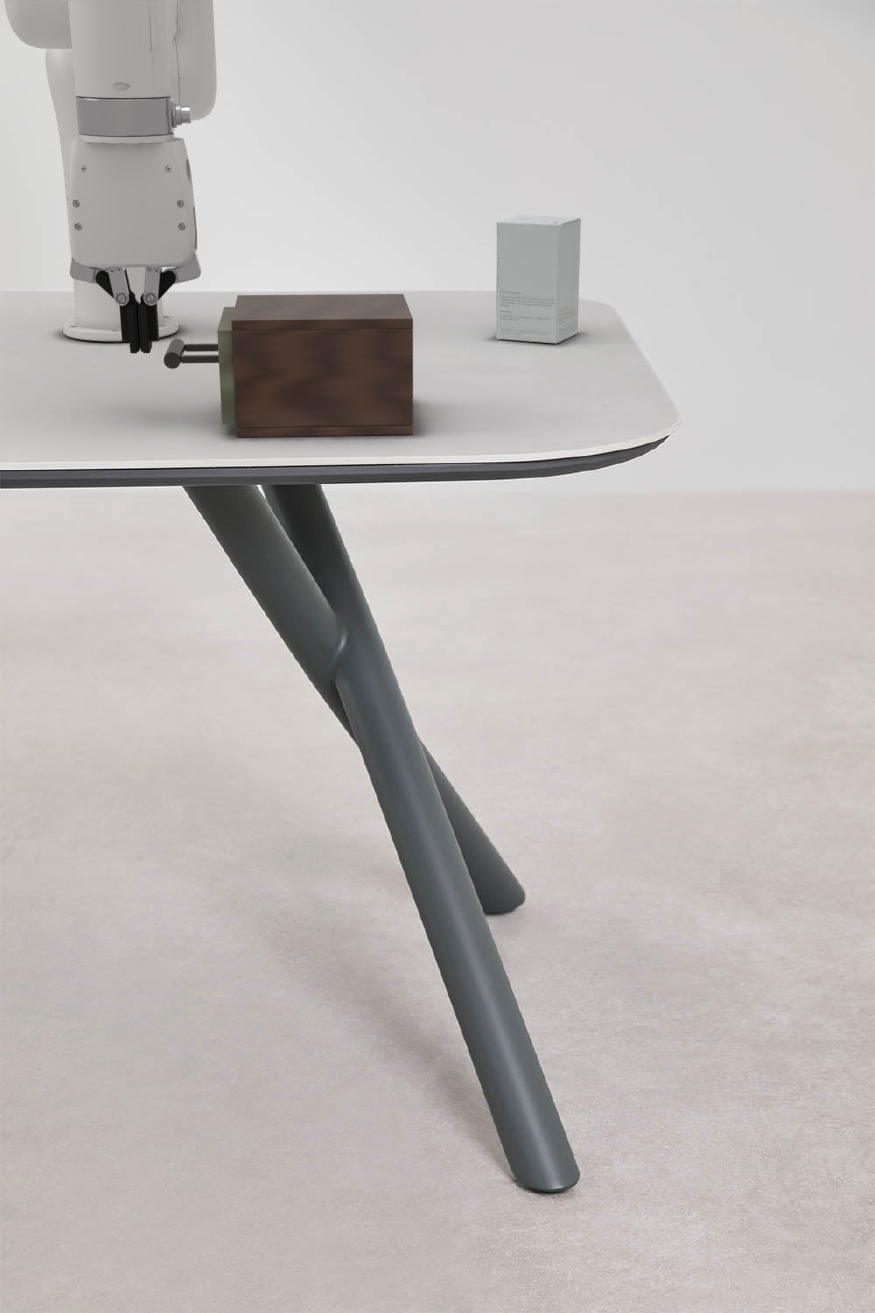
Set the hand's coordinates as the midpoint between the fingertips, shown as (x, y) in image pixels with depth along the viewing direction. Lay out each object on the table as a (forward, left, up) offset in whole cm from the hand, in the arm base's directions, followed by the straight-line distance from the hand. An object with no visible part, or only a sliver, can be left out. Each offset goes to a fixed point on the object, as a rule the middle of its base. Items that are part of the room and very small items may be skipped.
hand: (141, 349), depth 127 cm
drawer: (+1, +11, -5) cm, 12 cm away
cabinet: (+1, +15, -6) cm, 17 cm away
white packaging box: (-36, +39, -6) cm, 54 cm away
